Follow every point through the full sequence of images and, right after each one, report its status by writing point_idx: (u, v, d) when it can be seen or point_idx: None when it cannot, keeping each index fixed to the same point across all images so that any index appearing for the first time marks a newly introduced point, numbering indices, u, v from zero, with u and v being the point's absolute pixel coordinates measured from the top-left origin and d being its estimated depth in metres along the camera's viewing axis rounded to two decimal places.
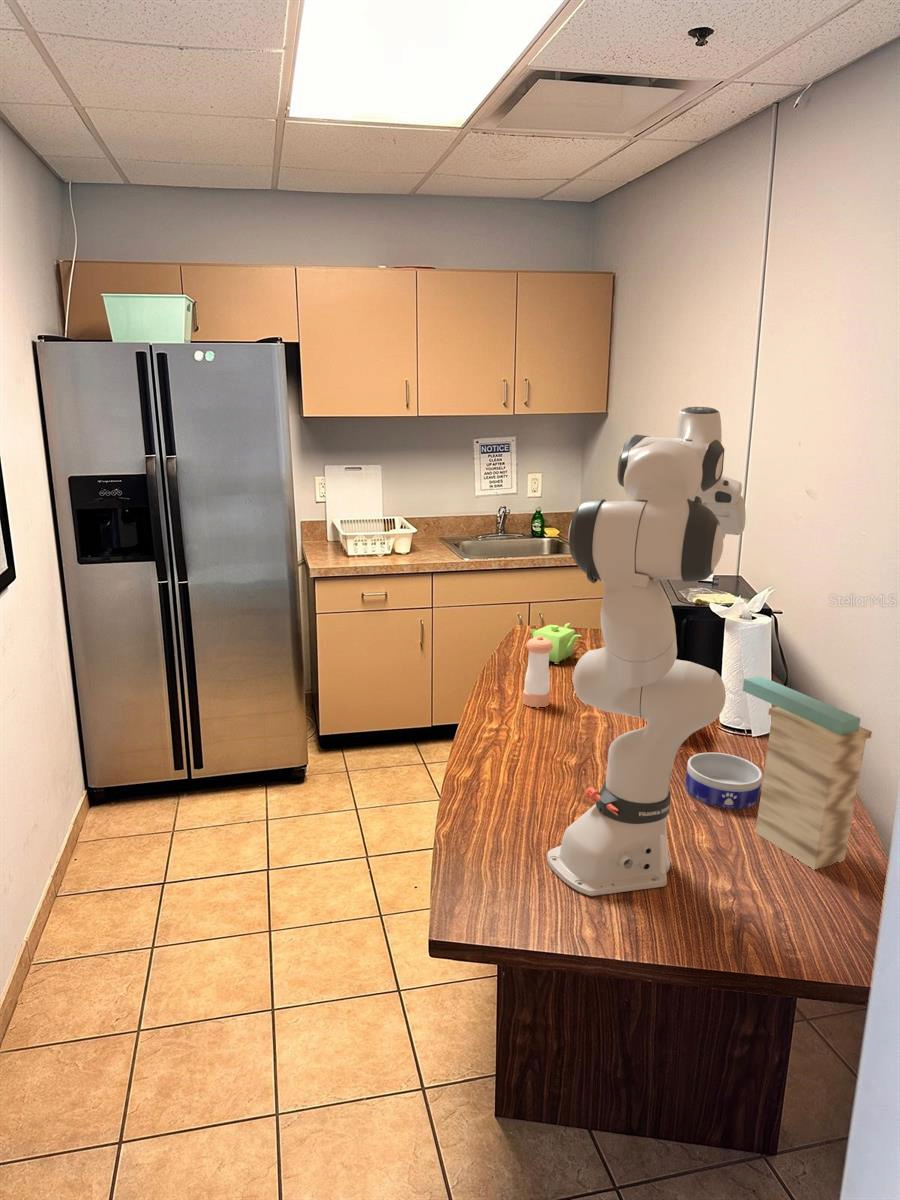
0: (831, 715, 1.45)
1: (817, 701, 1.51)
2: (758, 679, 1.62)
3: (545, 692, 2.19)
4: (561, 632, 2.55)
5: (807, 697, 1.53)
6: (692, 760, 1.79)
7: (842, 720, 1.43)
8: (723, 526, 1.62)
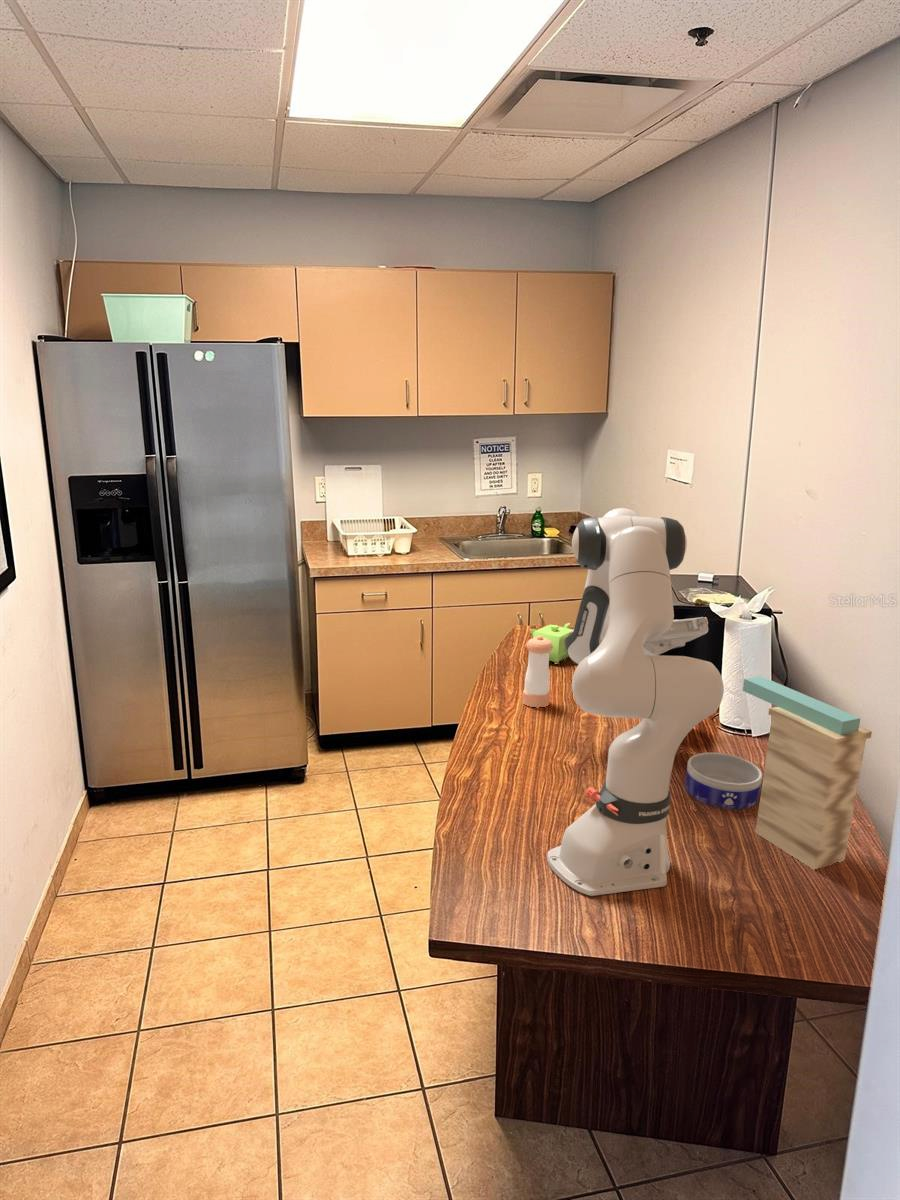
0: (831, 715, 1.45)
1: (817, 701, 1.51)
2: (758, 679, 1.62)
3: (545, 692, 2.19)
4: (561, 632, 2.55)
5: (807, 697, 1.53)
6: (692, 760, 1.79)
7: (842, 720, 1.43)
8: None
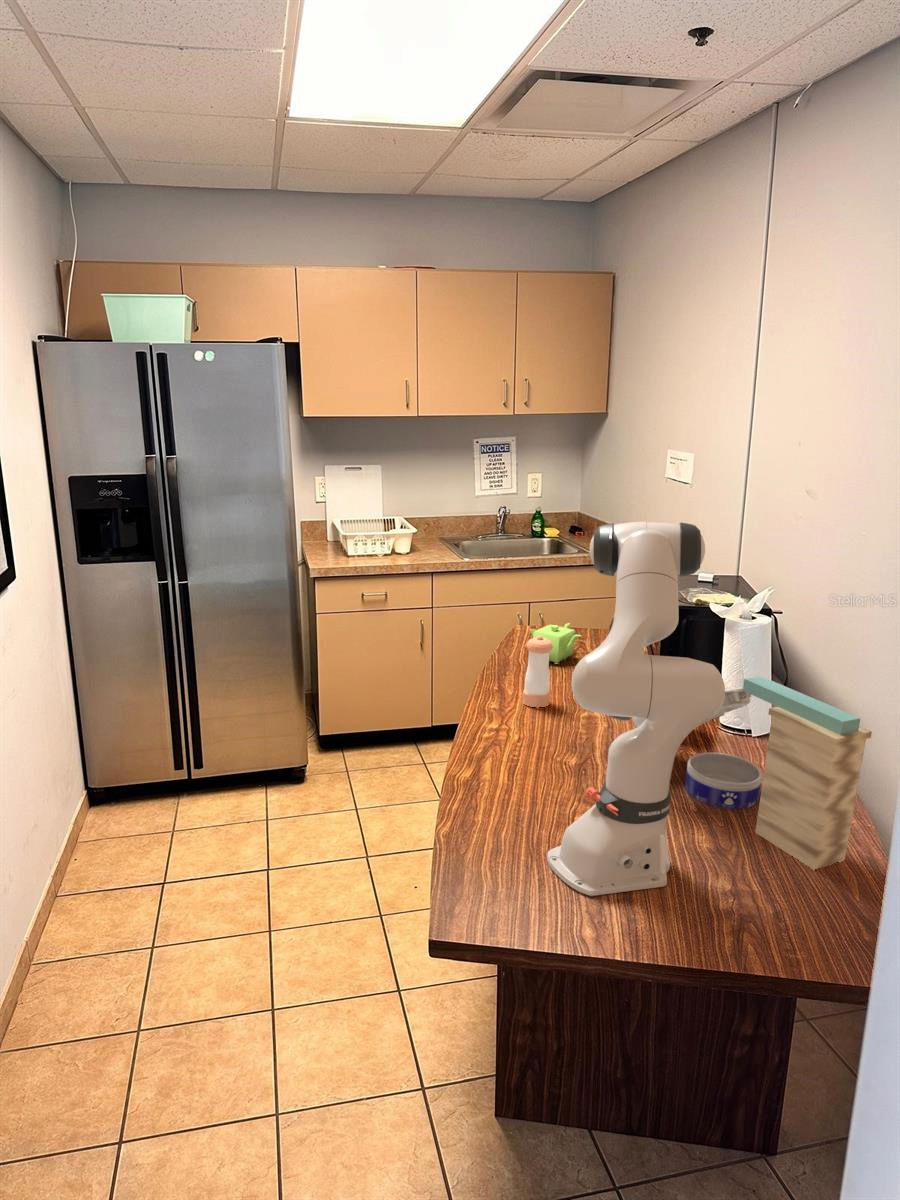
0: (831, 715, 1.45)
1: (817, 701, 1.51)
2: (758, 679, 1.62)
3: (545, 692, 2.19)
4: (561, 632, 2.55)
5: (807, 697, 1.53)
6: (692, 760, 1.79)
7: (842, 720, 1.43)
8: None
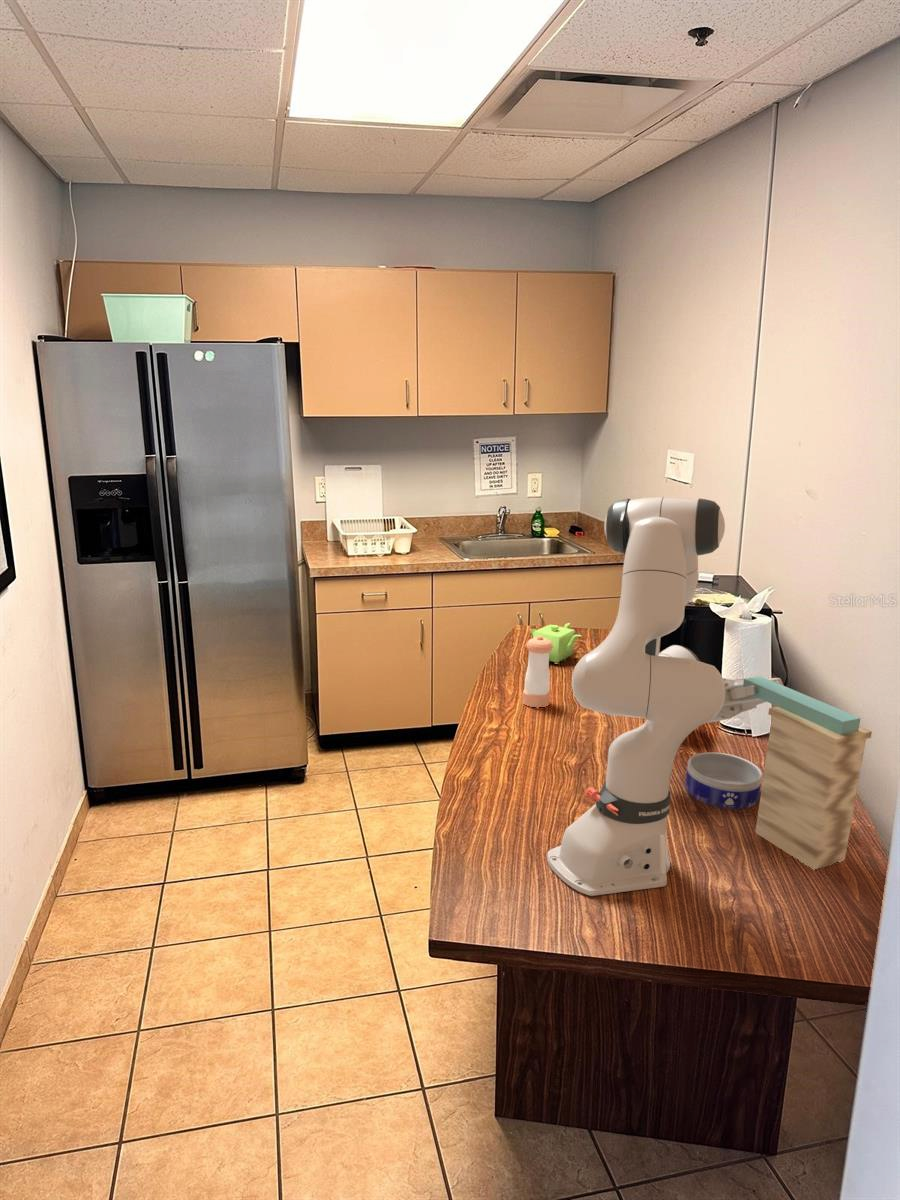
0: (831, 715, 1.45)
1: (817, 701, 1.51)
2: (758, 679, 1.62)
3: (545, 692, 2.19)
4: (561, 632, 2.55)
5: (807, 697, 1.53)
6: (692, 760, 1.79)
7: (842, 720, 1.43)
8: None
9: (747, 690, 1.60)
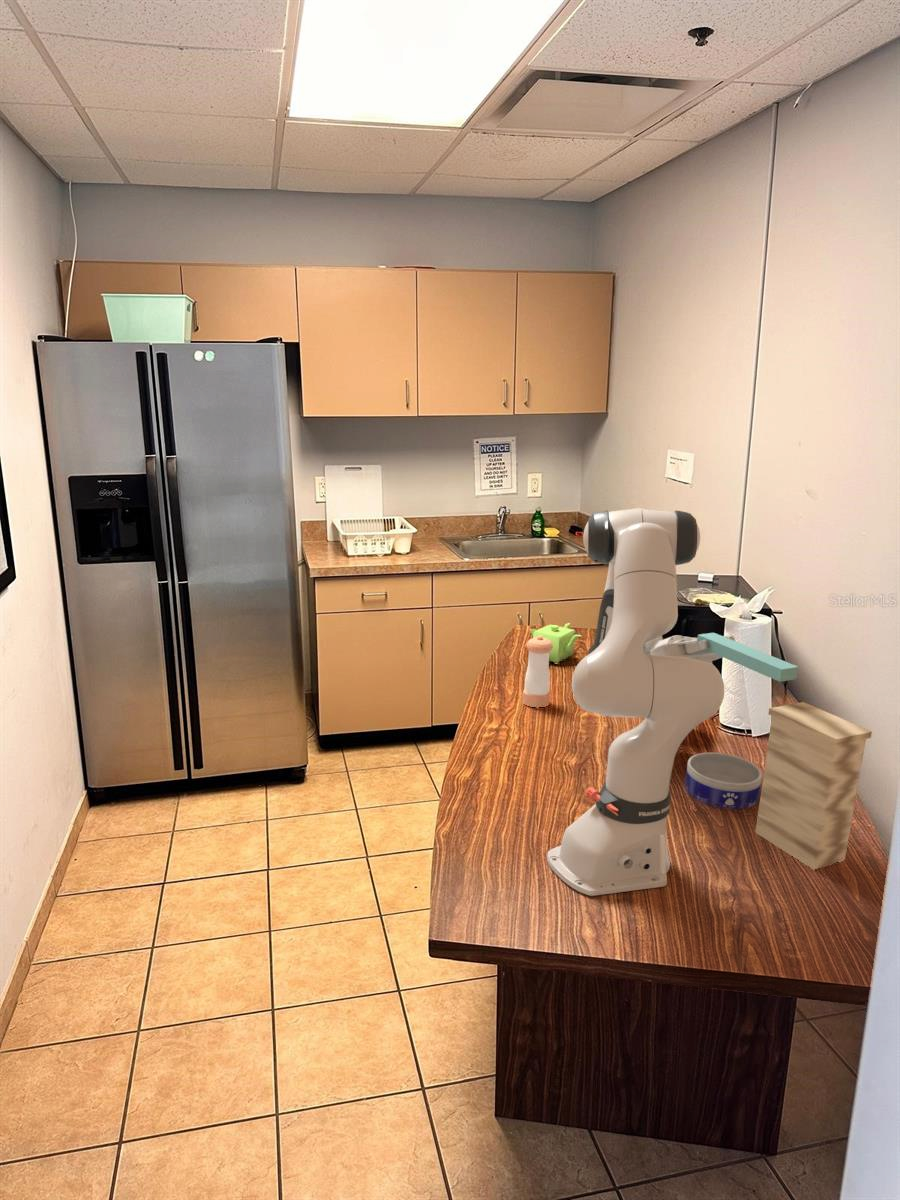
0: (772, 664, 1.59)
1: (761, 653, 1.65)
2: (711, 635, 1.76)
3: (545, 692, 2.19)
4: (561, 632, 2.55)
5: (753, 650, 1.67)
6: (692, 760, 1.79)
7: (781, 668, 1.56)
8: None
9: (700, 644, 1.73)
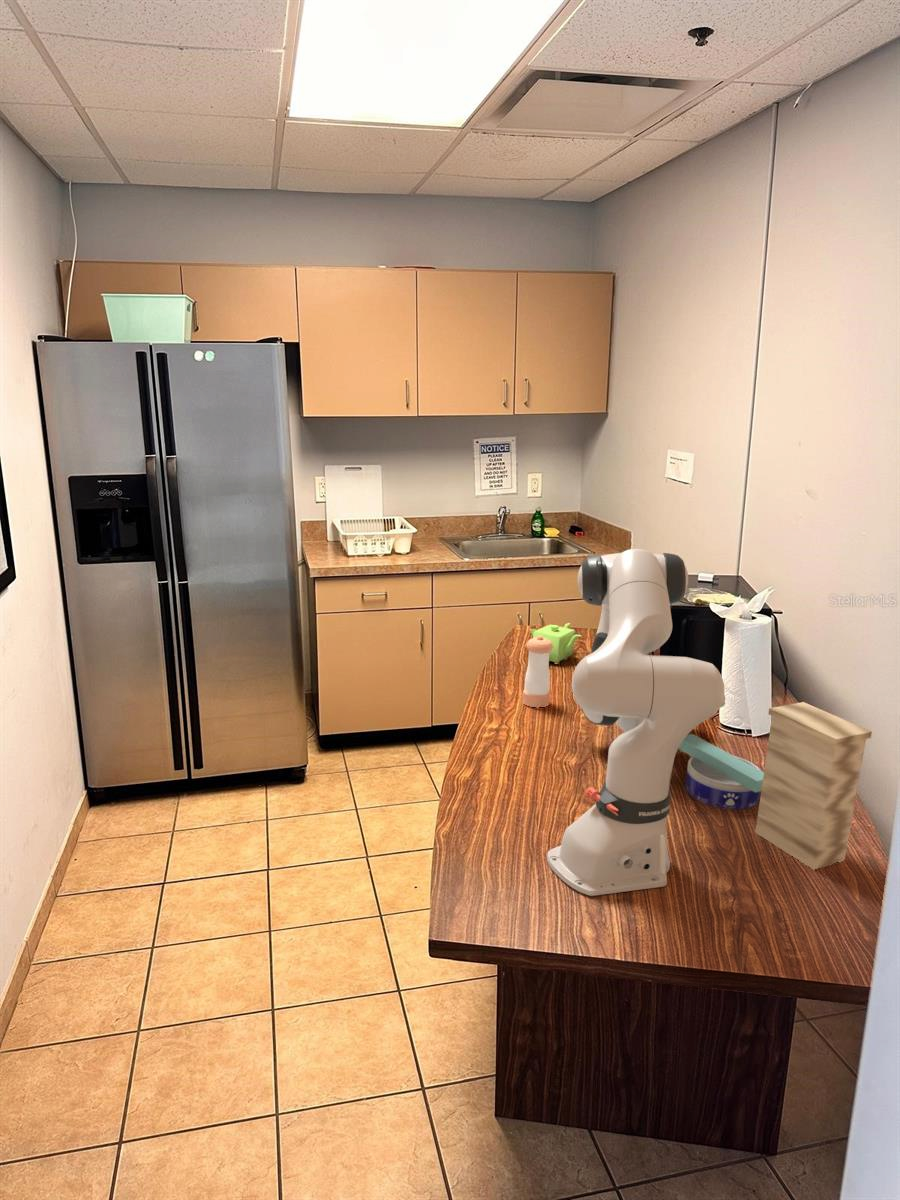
0: (748, 774, 1.66)
1: (738, 760, 1.73)
2: (690, 737, 1.83)
3: (545, 692, 2.19)
4: (561, 632, 2.55)
5: (730, 756, 1.75)
6: (692, 761, 1.78)
7: (756, 779, 1.64)
8: None
9: None
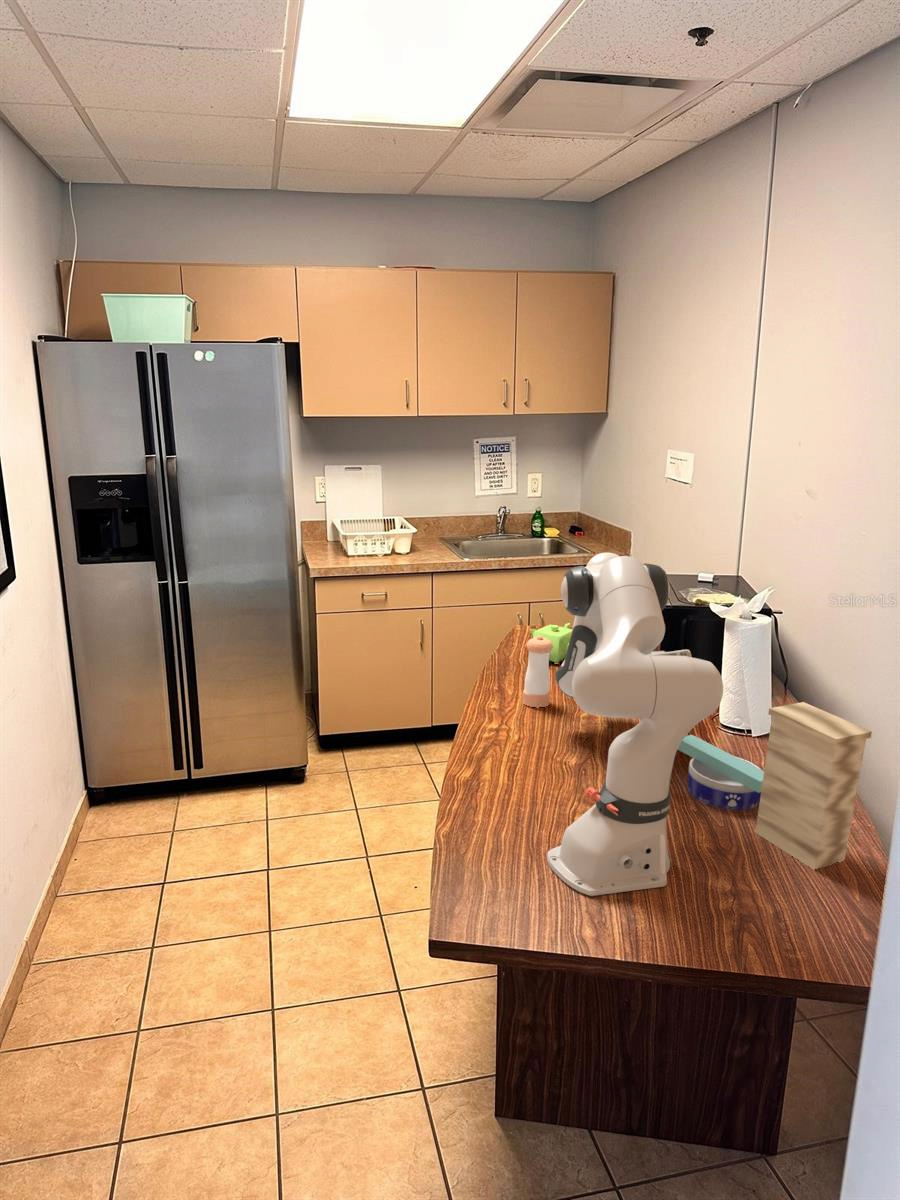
0: (750, 774, 1.66)
1: (739, 760, 1.73)
2: (689, 738, 1.83)
3: (545, 692, 2.19)
4: (561, 632, 2.55)
5: (731, 756, 1.74)
6: (693, 762, 1.78)
7: (759, 780, 1.64)
8: None
9: None
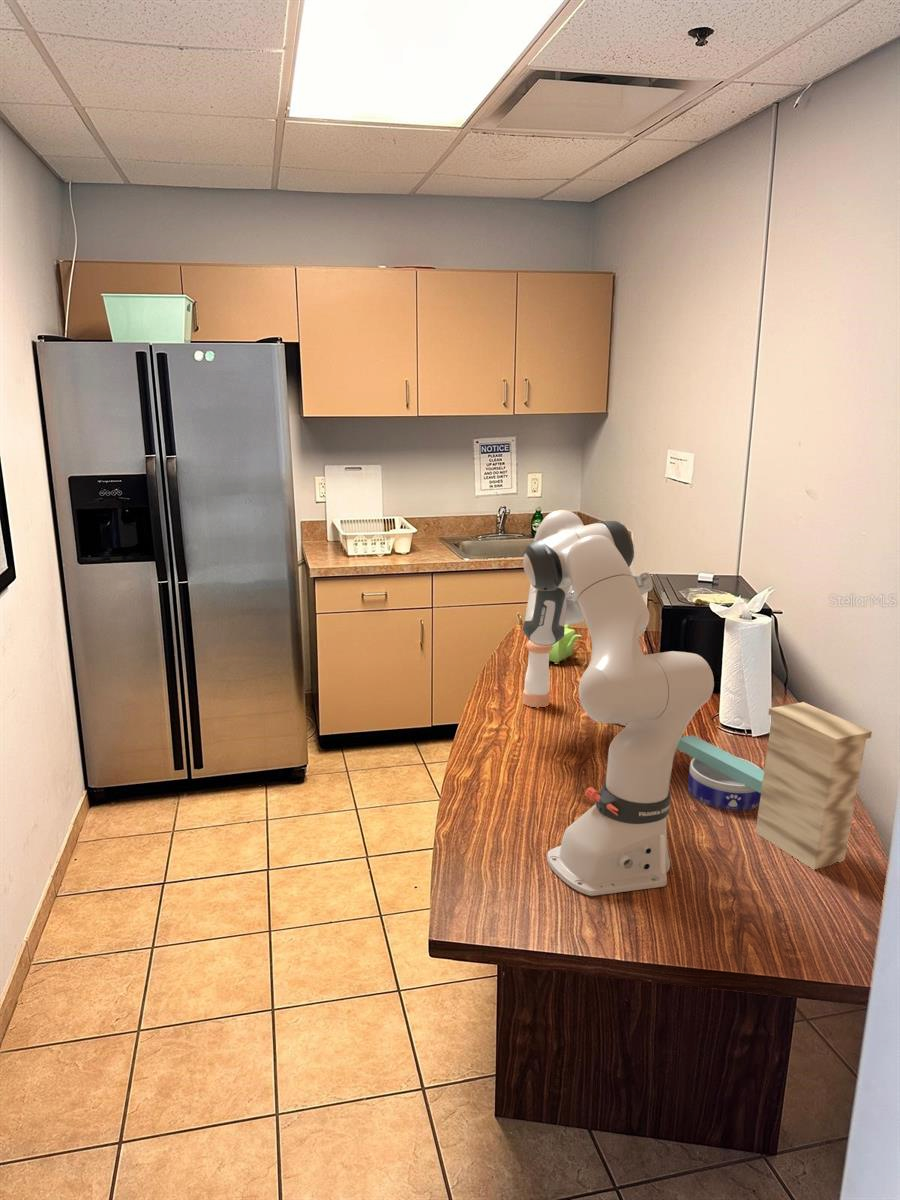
0: (751, 774, 1.66)
1: (740, 760, 1.73)
2: (690, 738, 1.83)
3: (545, 692, 2.19)
4: None
5: (732, 756, 1.74)
6: (694, 762, 1.78)
7: (761, 780, 1.64)
8: None
9: None
